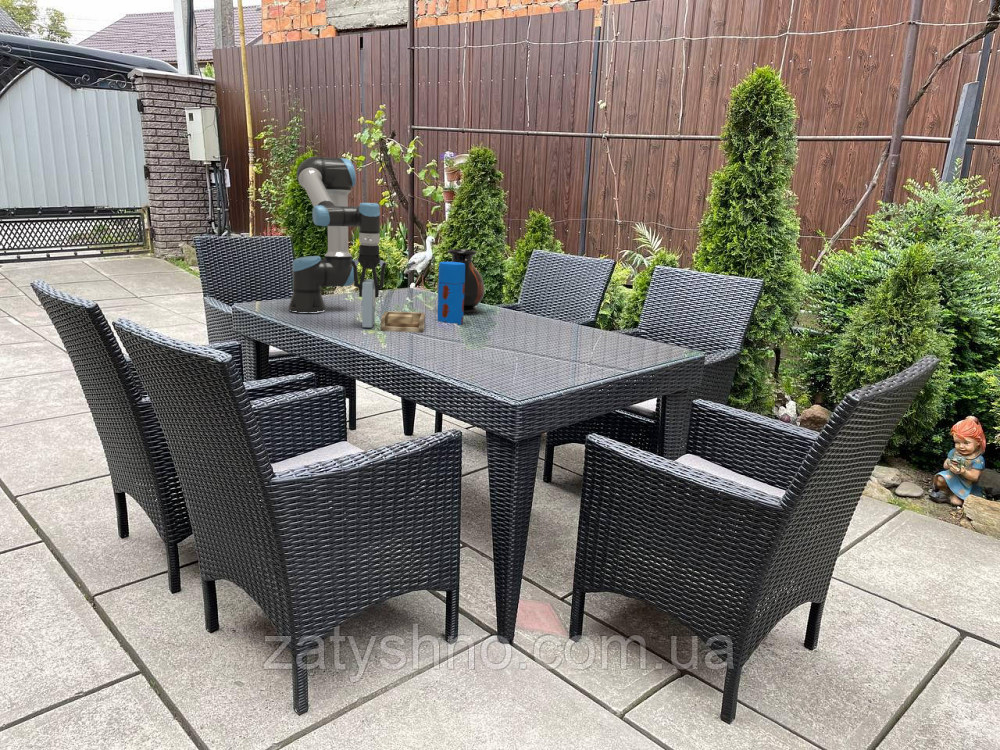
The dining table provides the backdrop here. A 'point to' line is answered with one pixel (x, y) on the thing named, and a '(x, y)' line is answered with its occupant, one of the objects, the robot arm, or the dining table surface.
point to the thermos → (451, 292)
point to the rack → (416, 318)
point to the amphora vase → (469, 279)
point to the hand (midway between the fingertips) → (368, 305)
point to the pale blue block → (368, 304)
